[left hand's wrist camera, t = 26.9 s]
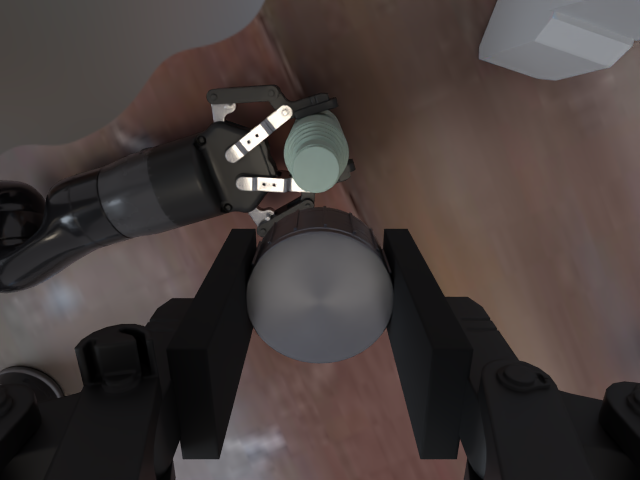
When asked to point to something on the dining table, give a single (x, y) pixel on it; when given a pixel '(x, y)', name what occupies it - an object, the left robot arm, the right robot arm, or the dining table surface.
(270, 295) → the cap
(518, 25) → the electronic device
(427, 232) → the dining table surface
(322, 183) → the bottle
